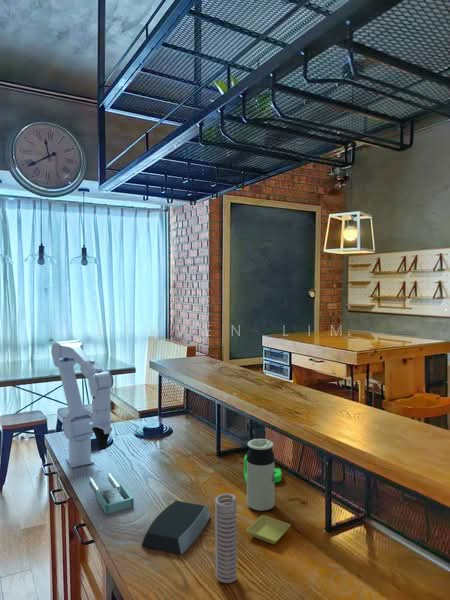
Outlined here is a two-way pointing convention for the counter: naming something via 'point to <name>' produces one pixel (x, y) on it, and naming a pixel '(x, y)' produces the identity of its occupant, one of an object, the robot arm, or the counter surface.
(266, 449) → the travel mug
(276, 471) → the mechanical part
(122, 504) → the tray
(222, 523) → the coil
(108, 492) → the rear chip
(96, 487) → the slot guide
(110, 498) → the block
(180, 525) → the external hard drive
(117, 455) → the counter surface
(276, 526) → the saucer
